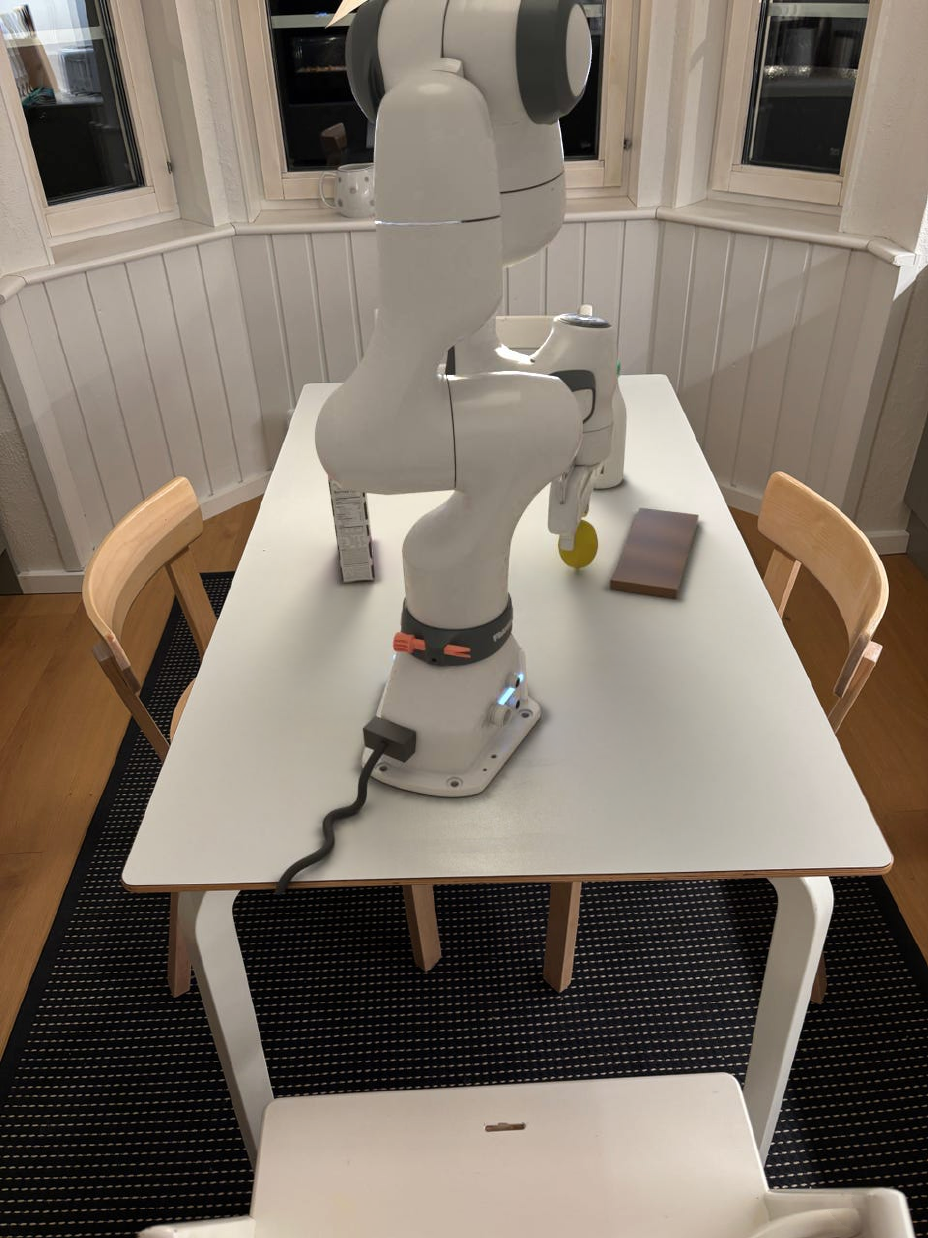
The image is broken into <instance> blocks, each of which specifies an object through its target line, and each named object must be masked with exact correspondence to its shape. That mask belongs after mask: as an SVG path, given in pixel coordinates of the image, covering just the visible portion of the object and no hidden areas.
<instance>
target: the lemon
mask: <svg viewBox="0 0 928 1238" xmlns="http://www.w3.org/2000/svg"><path fill="white" fill-rule="evenodd" d="M575 535H576V539H575V546H574V548H573V550H572V551H568V550H562V549H561V547H560V536H558V541H557V549H558V555H559V557H560V560H562V561H563V563H564V564H565V565H567V566H568V567H570V568H573V569H574V570H581V568H585V567H588V566H589V565H590V564H592V562H594V560H595V558H596V557H597V553H598V550H599V539H598V538H599V537H598V534H597V531H596V529H595V527H594V525H592V523H590V522H589V521H587V520H586V519H582V518H581V521H580V523H579V526H578V528H577V530H576V533H575Z"/></svg>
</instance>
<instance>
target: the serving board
mask: <svg viewBox="0 0 928 1238" xmlns="http://www.w3.org/2000/svg"><path fill="white" fill-rule="evenodd" d="M698 522H699V514H695V513H688V512H687V513H686V512H679V511H672V510H671V511H670V510H664V509H663V510H662V509H655V508H654V509H653V508H648V507H646V508H645V507H639V508H638V509H637V512H636V515H635V517H634V520H633V522H632V525H631V527H630V530H629V531H628V535H627V537H626V540H625V542H624V544H623V547H622V550H621V552H620V555H619V557H618V559H617V563H616V565H615V566H614V567H615V568H614V570H613V573H612V574H611V577H610V580H609V581H610V582H609V590H613V591H619V592H620V591H621V592H626V593H627V592H628V593H632V594H633V593H634V594H640V595H648V596H654V597H659V598H660V597H661V598H667V599H674V600H677V597H678V594H679V590H680V587H681V583H682V580H683V576H684V573H685V569H686V565H687V562H688V559H689V555H690V551H691V548H692V545H693V541H694V538H695V534H696V530H697V527H698V524H699V523H698Z"/></svg>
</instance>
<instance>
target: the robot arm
mask: <svg viewBox="0 0 928 1238" xmlns="http://www.w3.org/2000/svg"><path fill="white" fill-rule="evenodd" d="M354 14H355V15H354V16H353V18H352V21H351V23H350V24H349V27H348V30H347V34H346V39H345V49H344V50H345V52H344V53H345V55H344V57H345V67H346V69H345V70H346V74H347V79H348V83H349V86H350V87H349V88H350V90H351V93H352V95H353V97H354V99H355V101H356V103H357V105H358V106H359V108H360V109H361V111H362V112H363V114H364V115H365V117H366V118H367V119H368V120H369V122H370V123H372V124H374V125H375V136H374V138H375V139H374V150H373V151H374V152H373V206H374V219H375V235H376V248H377V250H376V251H377V269H378V271H377V272H378V275H377V276H378V278H377V279H378V293H377V294H378V296H377V297H378V300H377V302H378V303H377V312H376V319H375V325H374V328H373V332H372V336H371V339H370V342H369V344H368V346H367V349H366V351H365V353H364V355H363V356H362V359H361V360H360V362H359V363H358V365H357V366H356V368H355V369H354V370H353V372H352V373H351V374H350V375H349V377H347V379H345V380H344V382H343V383H341V385H340V386H338V387H337V388H336V389H335V390H334V391H332V392H331V393H330V395H329V396H328V397H327V398H326V400H325V401H324V403H323V405H322V407H321V408H320V410H319V413H318V415H317V419H316V421H315V429H314V444H315V451H316V454H317V458H318V461H319V463H320V465H321V466H322V469H323V471H324V472H325V473H326V475H327V477H328V476H329V477H330V478H331V480H332V481H333V482H334V483H335V484H336V485H337V486H339V487H340V488H341V489H343V490H348V491H356V492H363V493H367V494H372V495H373V494H374V495H383V496H396V495H409V494H420V493H422V494H423V493H433V492H446V491H454V492H452V494H451V495H450V496H449V498H448V499H446V501H444V502H443V503H441V504H439V505H438V506H437V507H435V508H433V509H431V510H429V511H428V512H426V513H424V514H423V515H422V516H420V517H419V518H418V519H417V520H416V521H415V522H414V524H413V525H412V526H411V527H410V529H409V530H408V532H407V533H406V535H405V537H404V540H403V543H402V547H401V556H402V567H403V568H402V569H403V580H404V581H403V582H404V594H405V597H404V599H403V602H402V610H401V613H400V630H399V631H397V632H396V633H395V635H394V636H393V640H392V648H393V651H394V652H395V654H394V655H393V663H392V667H391V670H390V675H389V679H387V681H386V683H385V685H384V688H383V691H382V695H381V698H380V700H379V703H378V707H377V710H376V713H375V716H374V717H372V719H371V720H370V721H368V722H367V724H366V725H364V726H363V727H362V734H363V741H364V742H363V743H364V750H363V753H362V756H361V768H362V770H361V773H360V775H359V778H358V783H357V796H356V799H355V800H354V802H353V803H352V804H350V805H347V806H343V807H339V808H335V809H333V810H331V811H329V812H328V813H327V814H326V815H325V816H324V818H323V820H322V825H321V826H322V832H323V834H324V838H325V840H324V843H323V844H322V846H321V847H320V848H319V849H317V850H316V851H314V852H313V853H311V854H308V855H306V856H304V857H303V858H301V859H299V860H297V861H295V862H294V863H292V864H291V865H290V866H289V867H288V868H287V869H286V870H284V872H283V874H282V875H281V877H280V878H279V879H278V882H277V884H276V887H275V889H274V894H275V895H276V896H279V895H280V896H281V895H283V894H284V893H285V892H286V890H287V888H288V886H289V885H290V882H291V880H293V878H294V877H295V876H297V874H299V873H300V872H302V871H304V870H305V869H307V868H308V867H311V866H312V865H315V864H316V863H318V862H320V861H322V860H323V859H325V857H327V856H328V855H329V854H330V853H331V852H332V850H333V849H334V847H335V843H336V836H335V832H334V829H333V823H334V821H335V820H338V819H341V818H347V817H349V816H353V815H355V814H356V813H358V812H359V811H360V810H361V809H362V808H363V807H364V805H365V804H366V801H367V797H368V785H369V784H368V783H369V780H370V778H371V777H373V779H376V780H378V781H379V782H381V783H384V784H386V785H388V786H392V787H393V788H394V787H395V788H398V789H401V790H405V791H408V792H412V793H418V794H424V795H428V796H436V797H449V798H451V797H452V798H453V797H454V798H455V797H456V798H457V797H467V796H473V795H478V794H480V793H482V792H483V791H484V790H485V789H486V788H487V787H488V786H489V784H490V783H491V782H492V781H493V780H494V778H495V777H496V776H497V774H498V773H499V771H500V770H501V769H502V767H503V766H504V765H505V764H506V762H507V761H508V760H509V758H510V757H511V756H512V754H513V753H514V752H515V751H516V749H517V748H518V747H519V746H520V744H521V743H522V742H523V740H524V739H525V738H526V736H527V735H528V734H529V733H530V731H531V730H532V728H533V727H534V726H535V725H536V723H537V722H538V721H539V719H540V718H541V716H542V714H541V707H540V705H539V704H538V703H537V702H536V700H534V699H532V698H531V697H530V696H529V692H528V690H529V689H528V675H527V662H526V661H527V660H526V653H525V651H524V649H523V647H522V646H520V644H519V643H518V641H517V639H516V638H515V636H514V635H513V633H512V631H513V621H514V607H513V601H512V597H511V594H510V592H509V568H510V567H509V565H510V554H511V546H512V540H513V537H514V533H515V531H516V528H517V526H518V524H519V522H520V520H521V518H522V516H523V514H524V513H525V511H526V510H527V508H528V507H529V505H530V504H531V503H532V501H533V500H534V499H535V498H536V497H537V496H538V495H539V494H540V493H541V491H542V490H544V489H545V488H546V487H547V486H549V484H550V487H549V497H548V510H547V529H548V531H549V533H550V534H553V535H559V536H560V547H561V549H562V550H568V551H572V550H573V548H574V546H575V539H576V535H575V533H576V530H577V528H578V526H579V523H580V521H581V519H582V518H586V517H587V516H588V514H589V511H590V501H591V498H592V494H593V492H594V489H595V488H594V487H595V484H596V482H597V480H598V477H599V475H600V473H601V470H602V467H603V463H604V460H605V459H607V458H608V457H609V456H610V455H611V453H612V443H613V428H614V412H613V408H612V398H613V395H614V392H615V389H616V381H617V360H618V343H617V336H616V332H615V330H614V327H613V325H612V324H611V323H610V322H609V321H607V320H605V319H603V318H600V317H596V316H593V315H589V314H580V313H564V314H563V313H562V314H560V315H557V316H555V317H554V318H553V320H552V323H551V327H550V332H549V336H548V337H547V339H546V341H545V342H544V343H543V344H542V346H540V348H539V349H538V350H536V352H535V353H533V354H531V355H527V354H524V353H521V352H518V351H515V350H511V349H510V348H508V347H507V346H506V345H505V344H503V343H502V341H501V340H500V339H499V337H498V336H497V332H496V330H497V329H496V327H497V326H496V324H497V323H496V322H497V321H496V320H497V319H496V318H497V315H496V314H497V313H498V311H499V309H500V307H501V304H502V301H503V296H504V277H503V276H504V274H503V273H504V272H503V271H504V270H503V269H507V268H510V267H511V268H512V267H513V266H516V265H519V264H522V263H524V262H526V261H527V260H530V259H532V258H534V257H535V256H537V255H539V254H540V253H542V252H543V251H544V250H545V249H547V248H548V247H549V246H550V245H551V243H553V241H554V240H555V239H556V237H557V235H558V233H559V232H560V230H561V229H562V227H563V224H564V221H565V216H566V209H567V185H566V184H567V183H566V171H565V170H566V169H565V159H564V148H563V141H562V140H563V139H562V132H561V127H560V121H559V119H560V118H563V117H564V116H567V115H569V114H570V112H572V110H573V109H574V108H575V107H576V105H577V104H578V103H579V102H580V100H581V99H582V97H583V95H584V93H585V90H586V86H587V81H588V77H589V76H588V75H589V72H590V68H591V63H592V61H591V60H592V39H591V32H590V28H589V27H590V26H589V23H588V18H587V13H586V10H585V7H584V4H583V2H582V0H368V1H365V2H363V4H361V5H359V7H358V9H357V11H356V13H354ZM446 354H447V356H446V362H445V368H444V374H443V373H439V367H440V364H441V362H442V360H443V358H444V357H445V355H446ZM559 536H558V537H559Z"/></svg>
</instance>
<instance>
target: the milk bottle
mask: <svg viewBox="0 0 928 1238" xmlns="http://www.w3.org/2000/svg"><path fill="white" fill-rule="evenodd" d="M620 373H621V362H620V361H619V360H618V359H617V381H616V389H615V392H614V395H613V398H612V408H613V412H614V428H613V443H612V453H611V455H610V456H609V457H608V458H607V459H605V460H604V463H603V467H602V470H601V473H600V475H599V477H598V480H597V482H596V484H595V487H594V489H610V488H613V487H614V488H615V487H616V486H619V484H621V482H622V481H623V478H624V472H625V471H624V470H625V456H626V455H625V454H626V442H627V441H626V440H627V420H628V418H627V417H628V415H627V414H628V413H627V407H626V402H625V400H624V397H623V395H622V392H621V389H620V384H619V378H620V376H621V374H620Z"/></svg>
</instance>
